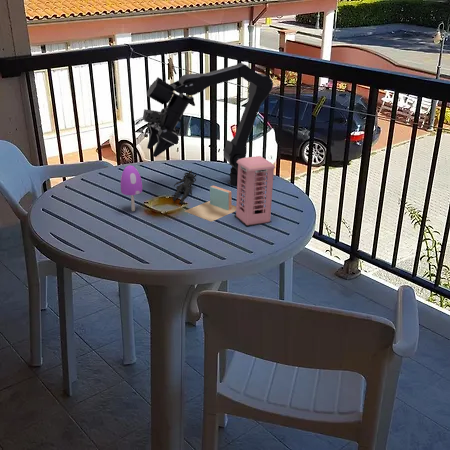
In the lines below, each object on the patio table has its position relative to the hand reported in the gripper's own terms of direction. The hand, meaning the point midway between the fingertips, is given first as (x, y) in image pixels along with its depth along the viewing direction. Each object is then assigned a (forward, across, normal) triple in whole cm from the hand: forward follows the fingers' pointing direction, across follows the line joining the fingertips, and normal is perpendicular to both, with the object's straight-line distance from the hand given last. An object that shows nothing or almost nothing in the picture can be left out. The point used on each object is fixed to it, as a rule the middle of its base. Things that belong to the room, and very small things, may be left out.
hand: (151, 152), depth 183 cm
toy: (+18, +12, +1) cm, 21 cm away
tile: (+2, +19, +23) cm, 30 cm away
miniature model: (0, +31, +29) cm, 43 cm away
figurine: (+7, +5, +17) cm, 19 cm away
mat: (+4, +20, +21) cm, 29 cm away
